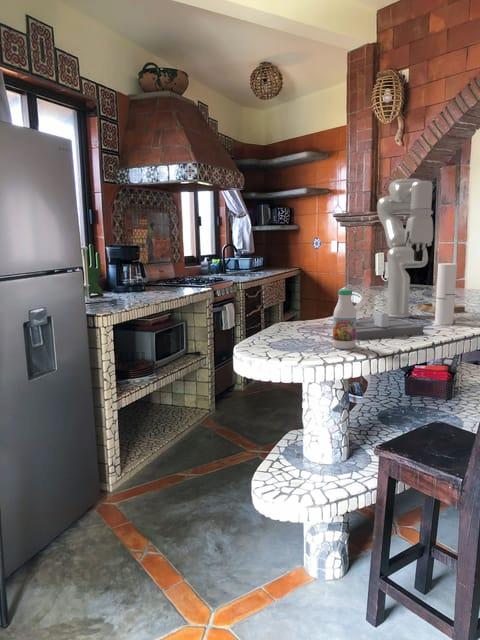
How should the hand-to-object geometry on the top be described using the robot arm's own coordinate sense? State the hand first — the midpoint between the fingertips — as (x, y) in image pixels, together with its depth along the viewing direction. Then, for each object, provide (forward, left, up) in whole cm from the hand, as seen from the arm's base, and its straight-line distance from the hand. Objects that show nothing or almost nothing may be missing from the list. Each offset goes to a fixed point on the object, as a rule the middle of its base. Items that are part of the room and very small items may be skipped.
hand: (418, 261), depth 185 cm
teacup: (-28, +34, -27) cm, 52 cm away
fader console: (+3, -19, -27) cm, 33 cm away
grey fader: (+8, -20, -23) cm, 32 cm away
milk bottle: (+20, -42, -27) cm, 54 cm away
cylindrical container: (-3, +16, -27) cm, 32 cm away
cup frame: (-30, +35, -27) cm, 53 cm away
